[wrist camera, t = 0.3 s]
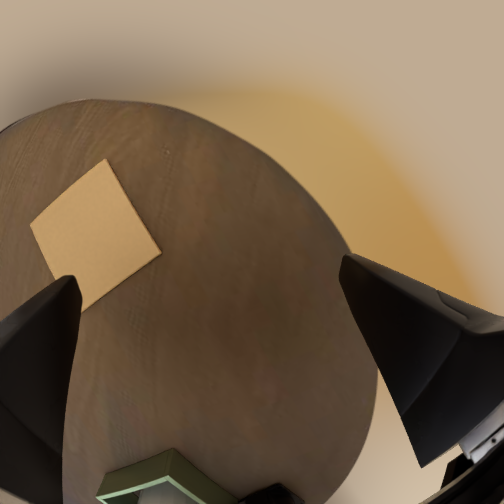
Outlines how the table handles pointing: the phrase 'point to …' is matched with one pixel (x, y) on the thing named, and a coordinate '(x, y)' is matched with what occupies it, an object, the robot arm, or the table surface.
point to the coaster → (94, 234)
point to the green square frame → (157, 471)
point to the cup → (164, 495)
